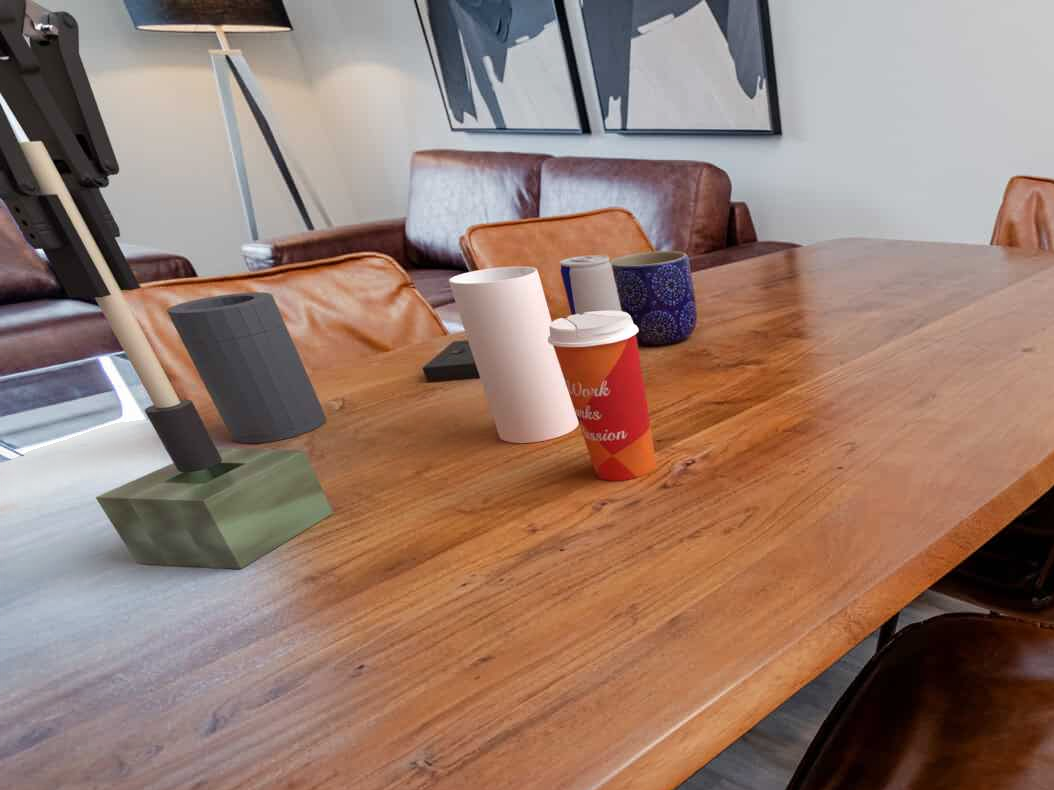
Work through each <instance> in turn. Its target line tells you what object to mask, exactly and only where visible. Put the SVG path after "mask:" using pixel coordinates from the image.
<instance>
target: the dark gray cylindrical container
mask: <svg viewBox="0 0 1054 790" xmlns="http://www.w3.org/2000/svg"><path fill="white" fill-rule="evenodd" d="M166 312H167V314H168V317H169V319H170V320H171V323H172V324H173V327H174V328H175V331H176V332H177V334H178V336H179V337H180V339H181V342H182V344H183V346H184V348H185V350H186V351H187V354H188V356H189V358H190V360H191V361H192V363H193V365H194V367H195V369H196V371H197V373H198V375H199V377H200V379H201V381H202V383H203V385H204V387H205V389H206V391H207V392H208V395H209V396H210V399H211V401H212V402H213V405H214V407H215V408H216V410H217V413H218V415H219V416H220V418H221V421H222V422H223V424H224V426H225V428H226V430H227V432H228V433H229V435H230V437H231V439H232V440H233V441H234V442H236V443H239V444H248V445H249V444H265V443H272V442H277V441H282V440H286V439H291V438H295V437H298V436H301V435H304V434H306V433H309V432H312V431H314V430H316V429H318V428H320V427H321V426H323V425H324V424H325V423H326V421H327V417H326V415H325V412H324V408H323V407H322V404H321V402H320V400H319V397H318V396H317V395H318V394H317V392H316V391H315V389H314V386H313V384H312V382H311V380H310V377H309V375H308V373H307V371H306V368H305V366H304V363H303V362H302V359H301V357H300V354H299V352H298V350H297V348H296V346H295V343H294V341H293V338H292V336H291V334H290V332H289V329H288V327H287V325H286V323H285V320H284V318H283V316H282V314H281V311H280V309H279V307H278V304H277V302H276V300H275V298H274V296H273V294H271V293H269V292H262V291H261V292H260V291H259V292H240V293H239V292H238V293H230V294H229V293H228V294H222V295H215V296H209V297H205V298H199V299H194V300H190V301H186V302H185V301H184V302H183V303H178V304H175V305H172V306H170V307H168V308H167V309H166Z"/></svg>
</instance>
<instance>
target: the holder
mask: <svg viewBox="0 0 1054 790" xmlns="http://www.w3.org/2000/svg"><path fill="white" fill-rule="evenodd" d="M217 450H218V452H219V454H220V456H221V458H222V461H221V462H220V463H219V464H217V465H215V466H213V467H210V468H207V469H204V470H200V471H194V472H179V471H178V470H177V468H176V467H175V465H174V463H173V462H172V463H171V464H168V465H166V466H163V467H161V468H159V469H156V470H154V471H151V472H150V473H147V474H145V475H143V476H140V477H138V478H136V479H134V480H132V481H128V482H127V483H125V484H122V485H119V486H118V487H116V488H113V489H111V490H109V491H106V492H104V493H102V494H99V495H97V496H96V497H95V499H96V501H97V502H98V504H99V506H100V507H101V509H102V510H103V512H104V513H105V515H106V517H107V518H108V520H109V521H110V523H111V525H112V526H113V527H114V529H115V531H116V532H117V534H118V536H119V537H120V539H121V540H122V542H123V544H124V545H125V547H126V548H127V550H128V552H129V553H130V555H131V556H132V558H133V560H134V561H135V563H136V564H138V565H152V566H154V565H155V566H173V567H175V566H176V567H194V568H195V567H196V568H213V569H231V570H232V569H234V570H242V569H244V568H246V567H247V566H248V565H250V564H252V563H254V562H255V561H257V560H259V559H260V558H262V557H264V556H266V554H268V553H270V552H271V551H274V550H275V549H277V548H279V547H280V546H281V545H283V544H285V543H287V542H288V541H290V540H292V539H294V537H297V536H298V535H300V534H302V533H303V532H305V531H306V530H308V529H310V528H312V527H313V526H315V525H316V524H318V523H320V522H321V521H323V520H325V519H327V518H328V517H329V516H331V515H333V514H334V510H333V509H332V506H331V504H330V502H329V500H328V498H327V495H326V494H325V493H326V492H324V489H323V487H322V485H321V483H320V481H319V478H318V476H317V474H316V472H315V470H314V468H313V465H312V463H311V461H310V459H309V457H308V455H307V453H306V450H303V449H302V450H301V449H300V450H299V449H263V448H262V449H261V448H260V449H259V448H258V449H256V448H255V449H254V448H217Z"/></svg>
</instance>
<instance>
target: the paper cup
mask: <svg viewBox="0 0 1054 790" xmlns="http://www.w3.org/2000/svg"><path fill="white" fill-rule="evenodd" d="M549 328H550V336H549V337H548V343H550V344H551V345H553V347H554V350H555V353H556V356H557V359H558V362H559V365H560V368H561V371H562V374H563V377H564V380H565V383H566V386H567V389H568V392H569V395H570V398H571V401H572V404H573V407H574V410H575V413H576V416H577V419H578V422H579V424H578V426H579V428H580V432H581V434H582V437H583V440H584V443H585V446H586V448H587V451H588V454H589V457H590V460H591V463H592V466H593V469H594V471H595V473H596V475H597V477H598V478H599V479H601V480H605V481H611V482H612V481H613V482H618V481H620V482H621V481H627V480H633V479H638V478H640V477H643V476H645V475H647V474H649V473H651V472H653V470H655V468H656V467H657V466H656V465H657V463H656V455H655V447H654V440H653V433H652V427H651V420H650V414H649V408H648V403H647V402H648V401H647V394H646V389H645V388H646V387H645V383H644V376H643V370H642V365H641V358H640V351H639V346H638V345H639V344H638V342H637V338H636V333H638V331H639V329H638V327H637V326H636V325H635V324H633V321H632V318H631V316H630V315H629V314H628V313H626V312H622V311H592V312H584V313H583V314H582V315H580V314H575V315H572V314H571V315H567V316H566V318H564V317H559V318H557V319H554V320H553V321H552V322H551V323H550V326H549Z"/></svg>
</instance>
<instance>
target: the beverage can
mask: <svg viewBox="0 0 1054 790" xmlns="http://www.w3.org/2000/svg"><path fill="white" fill-rule="evenodd" d="M609 261H610V257H609V256H608V255H600V254H598V255H595V254H593V255H592V254H591V255H581V256H574V257H568V258H565V259H562V260H560V261H559V265H560V273H561V274H560V275H561V278H562V282H563V287H564V290H565V294H566V298H567V301H568V306H569V309H570V314H571V315H575V314H580V315H582V314H583V313H584V312H592V311H622V310H621V305H620V301H619V296H618V292H617V287H616V283H615V278H614V274H613V269H612V265H611V263H610V262H609Z"/></svg>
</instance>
